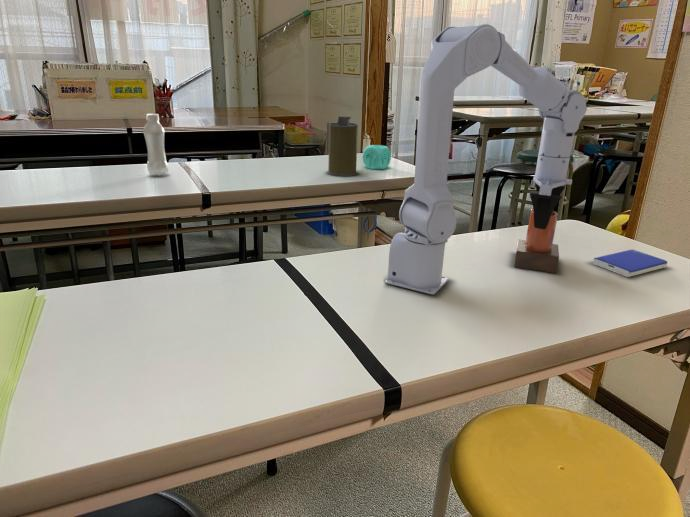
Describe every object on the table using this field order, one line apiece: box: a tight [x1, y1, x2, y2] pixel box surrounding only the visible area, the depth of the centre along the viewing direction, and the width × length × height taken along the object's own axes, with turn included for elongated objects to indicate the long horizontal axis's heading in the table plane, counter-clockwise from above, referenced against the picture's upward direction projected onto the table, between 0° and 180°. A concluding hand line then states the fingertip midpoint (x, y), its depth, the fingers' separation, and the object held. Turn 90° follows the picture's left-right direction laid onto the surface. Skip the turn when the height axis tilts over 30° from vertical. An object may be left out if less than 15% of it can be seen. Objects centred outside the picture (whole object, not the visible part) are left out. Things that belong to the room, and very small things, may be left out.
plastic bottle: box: [142, 113, 169, 177], centre depth 170 cm, size 6×7×20 cm
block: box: [513, 239, 560, 274], centre depth 106 cm, size 8×8×4 cm
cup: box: [525, 209, 559, 252], centre depth 104 cm, size 5×5×8 cm
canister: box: [326, 115, 359, 177], centre depth 182 cm, size 11×10×20 cm
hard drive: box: [592, 248, 668, 278], centre depth 106 cm, size 2×8×12 cm
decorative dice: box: [362, 144, 392, 170], centre depth 197 cm, size 8×8×8 cm
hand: (542, 223), depth 103 cm, fingers open, 7 cm apart
